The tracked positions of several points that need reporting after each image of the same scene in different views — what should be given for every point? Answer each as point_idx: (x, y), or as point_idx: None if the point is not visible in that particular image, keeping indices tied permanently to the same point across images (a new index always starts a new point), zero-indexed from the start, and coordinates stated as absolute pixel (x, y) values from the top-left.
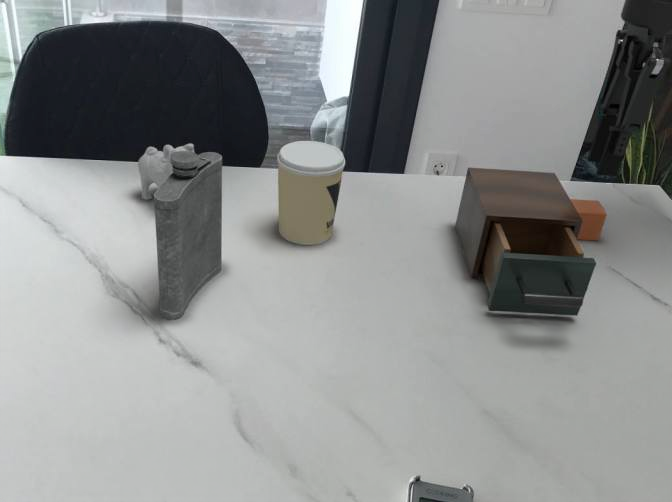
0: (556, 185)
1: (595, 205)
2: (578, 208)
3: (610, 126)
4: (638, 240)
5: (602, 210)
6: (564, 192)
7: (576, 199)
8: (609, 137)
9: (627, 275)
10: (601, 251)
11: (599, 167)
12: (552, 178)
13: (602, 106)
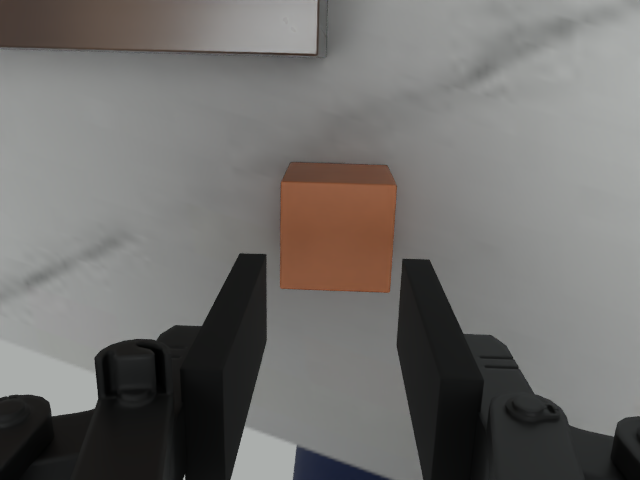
0: (160, 19)
1: (347, 268)
2: (315, 194)
3: (152, 352)
4: (306, 377)
5: (307, 281)
6: (81, 38)
7: (393, 210)
8: (212, 340)
9: (89, 274)
10: (222, 243)
11: (243, 265)
12: (243, 20)
13: (555, 422)
